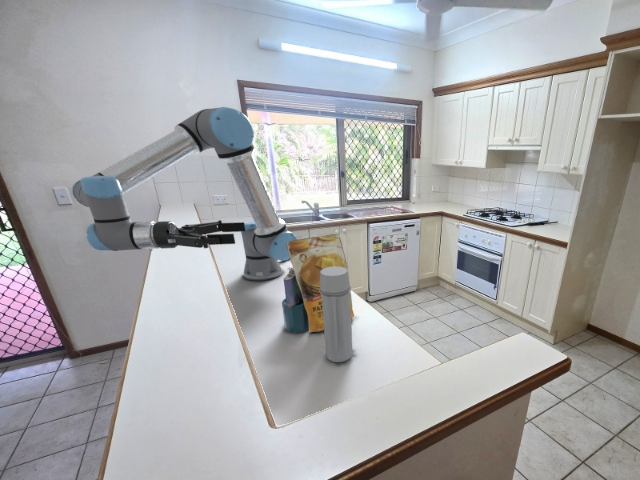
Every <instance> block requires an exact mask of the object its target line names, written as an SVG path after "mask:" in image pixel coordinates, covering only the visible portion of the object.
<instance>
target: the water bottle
mask: <svg viewBox="0 0 640 480" xmlns="http://www.w3.org/2000/svg"><path fill="white" fill-rule="evenodd" d="M348 274H349V270H348V271H347V269H346V268H343V267H336V266H334V267H327V268H324V269H322V270H321V271H320V289H319V292H320V294H321V295H322V307H323V320H324V330H323V331H324V342H325V355H326V359H328V361H330V362H332V363H343V362H346V361H347V360H349V359H351V357H352V355H353V354H354V352H353V331H352V329H353V328H352V320H351V319H352V318H351V301H350V292H351V293H352V286H351V284H350V285H349V282H350V277H349V278H348ZM321 291H322V292H321Z"/></svg>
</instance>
